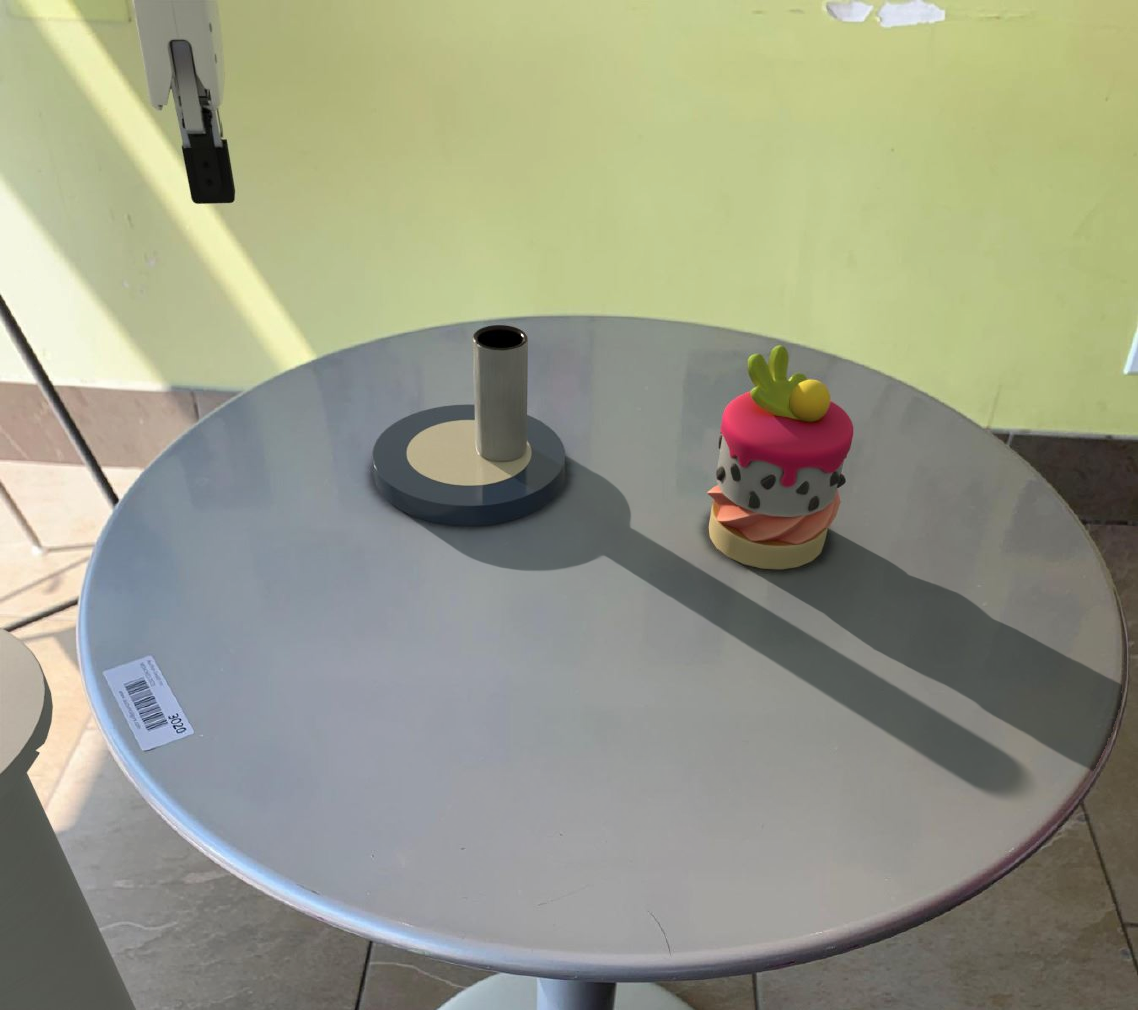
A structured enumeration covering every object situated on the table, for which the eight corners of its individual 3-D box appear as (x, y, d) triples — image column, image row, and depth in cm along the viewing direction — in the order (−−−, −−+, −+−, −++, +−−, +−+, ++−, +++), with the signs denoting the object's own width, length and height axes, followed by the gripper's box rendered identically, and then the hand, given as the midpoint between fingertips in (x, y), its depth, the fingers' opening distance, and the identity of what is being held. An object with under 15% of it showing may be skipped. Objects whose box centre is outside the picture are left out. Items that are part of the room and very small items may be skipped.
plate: (384, 534, 92) (381, 513, 91) (366, 431, 104) (364, 410, 102) (583, 516, 95) (584, 495, 94) (544, 417, 107) (544, 397, 105)
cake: (845, 523, 96) (887, 357, 85) (802, 587, 89) (841, 416, 78) (733, 488, 99) (760, 324, 88) (684, 546, 93) (706, 377, 82)
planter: (535, 443, 99) (537, 332, 92) (512, 467, 96) (511, 354, 89) (490, 431, 100) (489, 320, 93) (466, 454, 98) (462, 341, 90)
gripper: (112, -118, 77) (170, 167, 90) (88, -77, 67) (157, 238, 80) (224, -116, 78) (264, 166, 91) (217, -75, 68) (263, 235, 81)
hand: (214, 199), depth 85 cm, fingers closed
